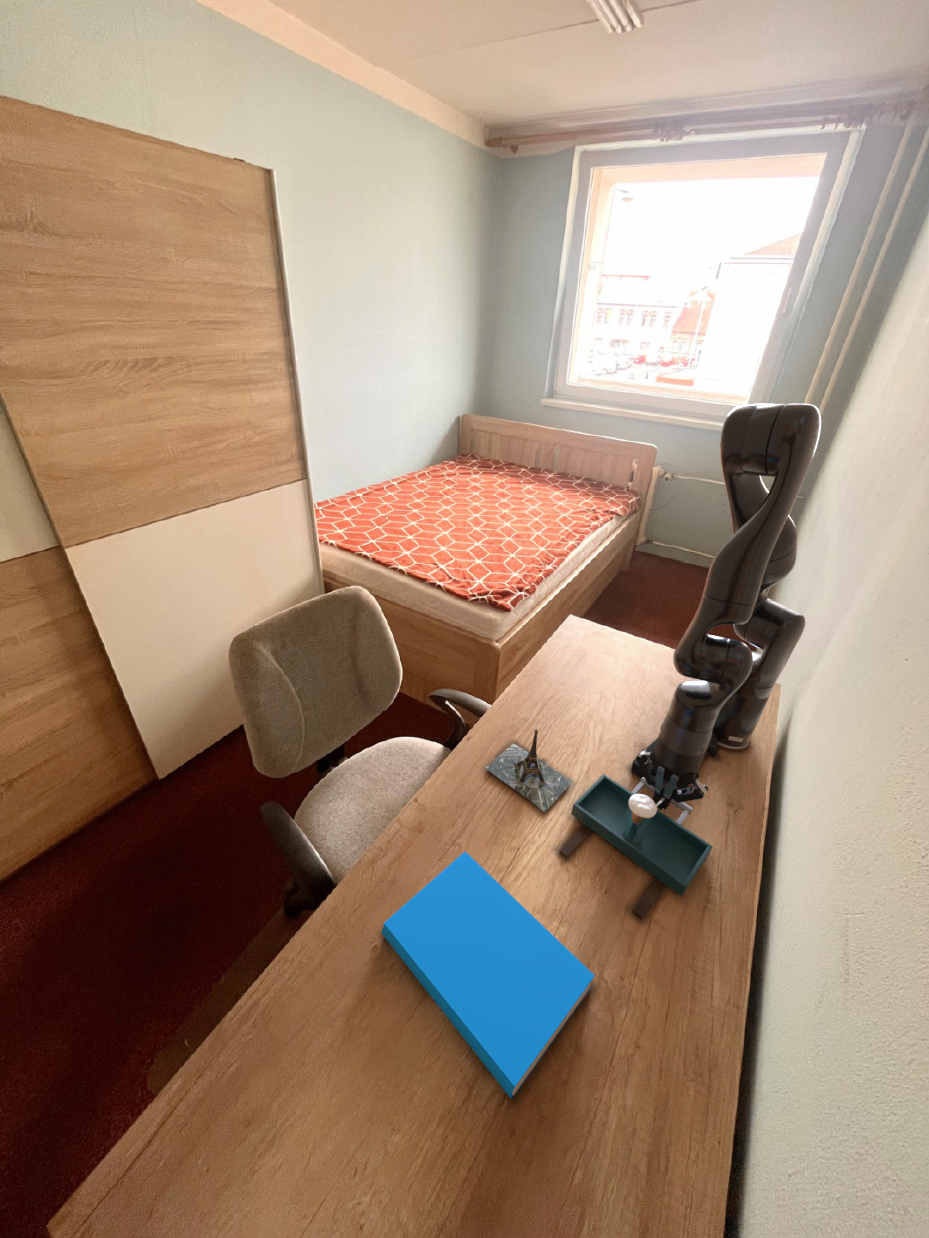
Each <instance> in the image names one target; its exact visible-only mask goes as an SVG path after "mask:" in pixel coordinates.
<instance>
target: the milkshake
mask: <svg viewBox="0 0 929 1238" xmlns="http://www.w3.org/2000/svg"><path fill="white" fill-rule="evenodd" d="M663 800H664V798H662V799H661V800H660V801H659V802H658V803H657V804H655V802H654V801H653V800H652V798H651V797H650V796H649V795H647V794H642V793H637V794H634V795H632V796H631V797H630V799H629V802H628V809H627V816H626V821H625V826H624V834H623V835H624V837H625V838H626V840H628V841H629V842H631V843H639V842H640V841H642V839H643V837H644V835H645V833H646V831H647V829H648V827H649V825H650V823H651V821H652V819H653V818H654V816H655V814H656V812H657V810H658V808H657V806H658V805H659V804H660V803H661V802H662V801H663Z"/></svg>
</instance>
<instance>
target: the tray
mask: <svg viewBox="0 0 929 1238" xmlns="http://www.w3.org/2000/svg"><path fill="white" fill-rule="evenodd" d="M643 788H646V789H648V791H650V792H653V793H654V792H655V788H654V787H653V786H652V785H648V784H647V782H646V780H645V778H644V777H642V778H640V780H639V782H638V783H637V785H636V786H635V787H634V788H633V789H632V791H630V790H629V789H627V788H626V787H624V786H623V785H621V784H620V783H618V782H617V781H615V780H614V779H612V778H611V777H609V776H608V775H607V774H604V773H603V774H602V775H601V776H600V777H599V778H598V779H597V780H596V781H595V782H594V783H593V784H592V785H591V786H590V787H589V788H588V789H587V790H586V791H585V792H584V793H583V794H582V795H581V796H580V797H579V798H578V799H576V801H575V802H574V803H573V804H572V808H571V815H572V816H573V817H574V818H576V819H577V820H578V821H579V822H581V823H582V824H583V825H584V824H585V825H586V826H588V827H589V828H590V829H592V831H593V832H594V833H596V834H597V835H598V836H599V837H601V838H602V839H603V840H604V841H606V842H608V843H609V844H610V845H611V846H613V848H616V849H617V850H618V851H619V852H621V853H622V854H624V855H625V856H626V857H628V859H630V860H632V861H633V862H634V863H635V864H637V865H638V866H640V867H641V869H643V870H644V871H646V872H648V873H649V874H650V875H651V876H653V877H654V878H655V879H656V878H657V879H658V880H660V881H661V882H662V883H664V884H665V887H668V888H669V889H670V890H671V891H673V892H674V893H675V894H677V895H678V896H679V897H680V898H681V897H683V896H684V894H685V893H686V891H687V890H688V888H689V887H690V885H691V884H692V882H693V880H694V879H695V877H696V876H697V874H698V872H699V871H700V870H701V868H702V866H703V865H704V863H705V862H706V860H707V859H708V857H709V856H710V854H711V851H712V849H713V845H712V844H711V843H708V842H707V841H705V840H704V839H703V838H701V837H700V836H698V835H696V834H695V833H694V832H692V831H691V830H689V829H688V828H686V827H685V826H683V825H682V824H683V823H684V822H685V821H686V819H687V818H688V817H689V816H691V814H692V813H693V811H694V808H693V807H691V806H690V805H689V804H687V803H686V802H681V803H677V802H675V801H674V799H672V800H671V803H670V805H672V806H673V807H676V808H677V809H679V810H680V811H682V813H681V814H680V816H679V817H678V818H677V820H676V821H675V820H674V819H673V818H671V817H669V816H668V815H666V814H665V813H664V812H662V811H661V810H660V809H657V812H656V814H655V816H654V818H653V819H652V821H651V823H650V825H649V827H648V829H647V831H646V833H645V835H644V837H643V839H642V841H640V842H639V843H631V842H629V841H628V840H626V838H625V837H624V835H623V834H624V826H625V821H626V816H627V809H628V802H629V799H630V797H631V796H632V795H634V794H639V793H640V791H641V790H642V789H643Z"/></svg>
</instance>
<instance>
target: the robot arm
mask: <svg viewBox="0 0 929 1238" xmlns="http://www.w3.org/2000/svg"><path fill="white" fill-rule="evenodd" d="M727 414H728V415H727V416H726V418H725V419H724V422H723V425H722V427H721V432H720V440H719V441H720V442H719V455H720V457H719V458H720V465H721V471H722V475H723V481H724V486H725V490H726V495H727V500H728V505H729V515H730V527H731V528H730V529H731V536H730V537H729V539H728V540H726V542H725V543H723V545H722V546H721V547H720V548H719V549H718V551H717V553H716V554H715V556H714V557H713V559H712V561H711V563H710V566H709V569H708V573H707V577H706V580H705V585H704V588H703V591H702V595H701V599H700V602H699V605H698V608H697V610H696V612H695V614H694V616H693V617H692V620H691V622H690V623H689V625H688V627H687V628H686V630H685V631H684V633H683V634H682V636H681V638H680V639H679V640H678V642H677V644H676V646H675V648H674V651H673V655H672V662H673V666H674V669H675V670H676V672H677V673H678V674H679V675H680V676H683V677H686V678H689V679H692V680H686V681H683V682H681V683H679V684H678V685H677V686H676V688H675V690H674V693H673V696H672V698H671V702H670V705H669V708H668V711H667V713H666V715H665V717H664V719H663V721H662V724H661V725H660V731H659V734H658V737H657V738H658V740H657V743H656V746H655V749H653V751H652V752H648V751H647V750H645V749H646V748H645V749H642V750H641V751H640V752H639V753H638V755H636V757H635V758H636V759H637V761H638V764H639V766H640V768H641V771H642V773H643V775H644V777H645V780H646V782H647V784H648V785H652V786H653V787H654V788H655V792H653V796H652V798H651V799H652V800H653V801H654V802H655V804H657V803H658V802H659V801H660V800H661V799H662V798H664V800H663V801H662V802H661V803H660V804H659V805H658V806H657V810H659V811H662V810H667V809H668V807H669V806H670V805H671V800H672V799H674V801H675V802H677V803H681V802H684V803H686V802H691V801H696V800H701V799H703V798H704V797H705V795H706V794H707V793H708V791H709V787H708V785H706V784H702V783H701V781H700V780H699V779H700V772H699V769H700V767H701V764H702V763H703V759H704V758H705V756H704V754H705V752H706V749H707V747H708V744H709V742H710V739H711V736H712V731H713V733H714V734H715V735H716V736H717V737H718V740H717V742H716V745H715V746H717V747H720V748H722V749H725V750H728V751H743V750H744V749H745V750H746V748H748V746H749V744H750V743H751V742H750V741H751V738H752V737H753V734H754V732H755V730H756V728H757V726H758V723H759V721H760V720H761V716H762V714H763V712H764V710H765V708H766V705H767V703H768V701H769V699H770V696H771V695H772V693H773V690H774V687H775V686H776V684H777V681H778V679H779V678H780V676H781V674H782V672H783V671H784V669H785V667H786V666H787V664H788V662H789V659H790V658H791V655H792V654H793V651H794V650H795V648H796V646H797V645H798V643H799V641H800V640H801V637H802V636H803V633H804V631H805V627H806V618H805V616H804V615H803V614H802V613H800V612H799V611H797V610H794V609H792V608H790V607H788V606H786V605H784V604H781V603H780V602H777V601H775V600H773V599H771V598H770V597H769V596H768V595H767V590H768V589H769V588H772V587H773V586H775V585H777V584H778V583H780V582H782V580H783V579H785V578H786V577H788V575H789V574H790V573H791V572H792V571H793V569H794V567H795V565H796V562H797V556H798V555H797V554H798V530H797V526H796V523H795V522H794V520H793V519H792V517H791V516H790V513H791V511H792V508H793V506H794V504H795V502H796V499H797V497H798V494H799V493H800V490H801V487H802V485H803V483H804V481H805V478H806V476H807V473H808V471H809V468H810V466H811V464H812V461H813V458H814V457H815V453H816V450H817V448H818V443H819V439H820V435H821V428H822V427H821V426H822V418H821V413H820V410H819V408H818V407H817V406H815V405H814V404H810V403H753V404H743V405H740V406H736V407H734V408H733V409H732V410H731V411H730V412H729V413H727ZM762 477H773V481H772V484H771V486H770V489H769V490H768V489H767V487H766V485H765V483H764V482H763V479H762ZM727 625H729V626H731V625H732V627H733V632H734V634H735V635H736V636H737V637H738V638H740V639H741V640H743V641H745V642H746V643H748V644H750V645H751V646H754V647H756V648H757V649H759V650H760V651H762V652H759V651H753V650H751V648H750V646H748V644H746V643H745V642H743V641H741V640H737V639H732V638H729V637H728V638H727V637H722V636H717V635H712V634H709V632H710V631H711V630H712V629H714V628H715V627H717V626H727ZM667 783H668V785H667ZM686 785H688V787H687V788H684V789H678V788H677V787H682V786H686ZM689 785H690V787H689ZM666 786H667V787H666Z"/></svg>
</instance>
